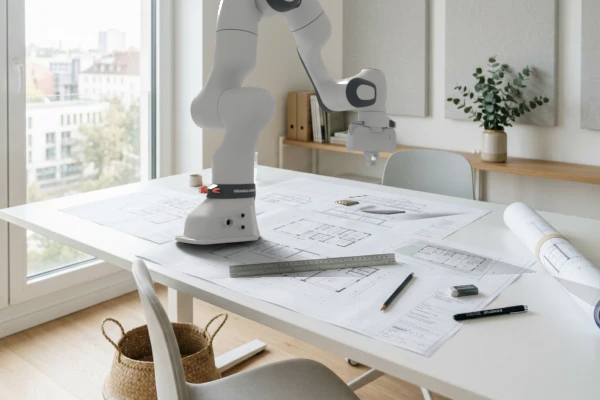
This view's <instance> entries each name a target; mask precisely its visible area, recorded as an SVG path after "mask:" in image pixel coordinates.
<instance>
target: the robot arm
mask: <svg viewBox="0 0 600 400" xmlns="http://www.w3.org/2000/svg"><path fill="white" fill-rule="evenodd" d="M277 16H280V17H281V18H282V19H283V20H284V21H285V24H286V26H287V28H288V29H289V30H290V32H291V34H292V35H293V38H294V40H295V42H296V51H297V55H298V57H299V60H300V62H301V64H302V66H303V68H304V70H305V72H306V74H307V77H308V78H309V81H310V82H311V85H312V88H313V90H314V93H315V96H316V100H317V103H318V105H319V107H320V108H321V110H322V111H324V112H325V113H327V114H335V113H340V112H346V111H352V110H357V120H352V121H351V122H350V123H349V124H348V130H347V133H346V143H345V148H346V150H347V151H349V152H363V157H364V159H365V165H366V167H376V166H377V161H378V158H379V156H380V153H394V152H395V151H396V148H397V132H396V130H395V129H397V126H398V125H397V122H396V121H395V120H394V119H391V118H390V117H389V116H388V115H387V108H386V102H387V96H388V95H387V93H388V92H387V80H386V79H387V78H386V76H385V73H384V72H383V71H382V70H379V69H376V68H369V67H368V68H363V69H361V71H360V72H359V73H357V74H355V75H353V76H350V77H346V78H342V79H335V78H333V77H331V75H330V73H329V71H328V69H327V67H326V65H325V63H324V60H323V58H322V55H321V54H322V53H321V52H322V49H323V48H325V46H326V44H327V43H328V42H329V41H330V38H331V35H332V29H333V27H332V24H331V21H330V18H329V16H328V15H327V13H326V12H325V10H324V8H323V6H322V4H321V3H320V2H319V0H221V1H220V3H219V8H218V12H217V18H216V23H215V24H216V25H215V33H214V34H215V35H214V46H213V47H214V48H213V60H212V64H211V67H210V71H209V74H208V75H207V79H206V81H205V83H204V84H203V87H202V89H201V90H200V91H199V93H198V94H197V95H195V96H194V98H193V99H192V101H191V104H190V109H189V110H190V111H189V112H190V116H191V119H192V121H193V123H194V124H195V125H196V126H197V127H199V128H201V129H203V130H208V131H211V132H224V131H225V133H224V136H223V138H222V139H223V140H222V142H221V143H220V145H219V146H218V147H217V148H215V149H214V150H213V152H212V154H211V183H210V184H209V186H207V185H200V186H199V187H198V193H199V194H206V196H205V199H204V200H203V201H202V202H201V203H200V204H198V205H197V206H196V207H195V208H194V209H193V210H191V212H189V213H188V214H187V216H186V217H185V220H184V227H183V234H177V235H175V236H174V237H175V238H174V240H175V241H176V242H180V243H186V244H193V245H212V244H213V245H215V244H226V243H239V242H248V241H249V242H251V241H257V240H259V238H260V237H261V234H260V229H259V224H258V221H257V214H256V213H257V212H256V205H255V204H256V201H255V200H256V197H257V195H256V194H257V192H256V191H257V189H256V188H257V185H256V183H255V156H256V151H257V146H258V143H259V140H260V138H261V136H262V134H263V132H265V130H266V128H267V127H268V126H270V124H271V123H272V122H273V121H274V119H275V117H276V111H277V107H276V101H275V98H274V96H273V95H272V92H270V91H269V90H267V89H265V88H260V87H256V86H243V83H244V81H245V80H246V78H247V77H248V76H249V75H250V74H251V73H252V72H253V71H254V70H255V68H256V66H257V55H258V53H257V52H258V39H259V38H258V37H259V22H260V21H263V20H265V19H272V18H274V17H277Z"/></svg>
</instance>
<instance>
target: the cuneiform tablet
mask: <svg viewBox="0 0 600 400" xmlns="http://www.w3.org/2000/svg"><path fill="white" fill-rule="evenodd" d="M367 196H368V195H367V194H364V195H363V194H362V195H353V196H349V198H350V199H339V200H335V201H334V203H335V204H338V205H342V206H346V207H348V206H353V205H357V204H360V202H359V201H358V200H353V199H351V198H359V197H360V198H361V197H367Z"/></svg>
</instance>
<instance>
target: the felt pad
mask: <svg viewBox="0 0 600 400" xmlns="http://www.w3.org/2000/svg"><path fill="white" fill-rule="evenodd" d="M362 212H363V213H367V214H369V213H370V214H379V215H393V214H402V213H403V214H404V213H406V211H405V210H397V209H395V210H394V209H391V210H390V209H387V210H385V209H384V210H383V209H380V210H379V209H378V210H374V209H373V210H362Z"/></svg>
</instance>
